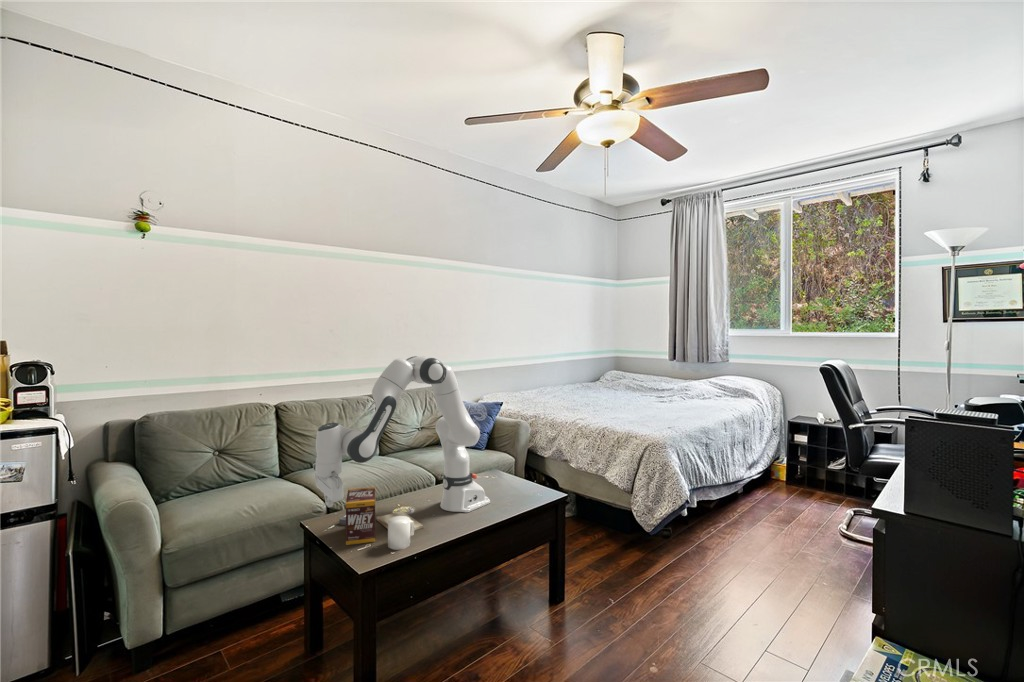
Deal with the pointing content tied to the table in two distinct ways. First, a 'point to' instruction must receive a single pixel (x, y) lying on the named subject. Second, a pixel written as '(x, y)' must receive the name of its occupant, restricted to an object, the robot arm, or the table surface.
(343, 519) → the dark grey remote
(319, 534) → the table surface
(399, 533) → the white mug
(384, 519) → the beige paperback book
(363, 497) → the supplement box
